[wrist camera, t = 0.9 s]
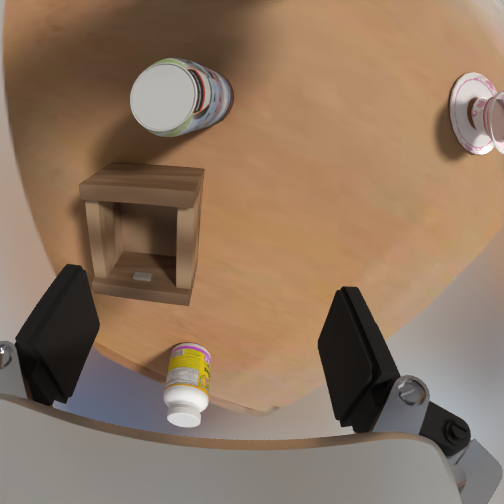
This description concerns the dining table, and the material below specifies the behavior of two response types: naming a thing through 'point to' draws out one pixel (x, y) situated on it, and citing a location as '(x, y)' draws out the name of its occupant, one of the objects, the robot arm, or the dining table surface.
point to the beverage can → (180, 97)
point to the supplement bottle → (187, 384)
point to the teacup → (477, 114)
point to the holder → (144, 230)
